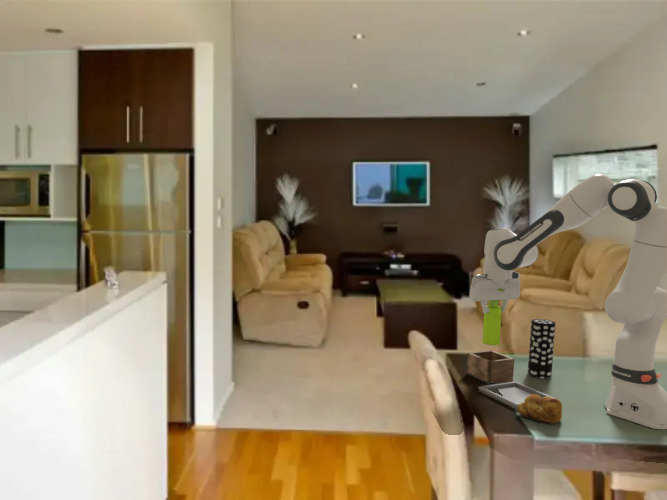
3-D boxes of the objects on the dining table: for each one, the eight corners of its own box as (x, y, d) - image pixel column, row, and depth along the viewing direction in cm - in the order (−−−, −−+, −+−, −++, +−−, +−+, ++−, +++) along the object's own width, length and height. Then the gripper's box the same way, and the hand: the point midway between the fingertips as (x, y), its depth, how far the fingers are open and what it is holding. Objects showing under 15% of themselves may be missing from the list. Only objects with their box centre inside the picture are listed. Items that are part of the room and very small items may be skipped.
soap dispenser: (495, 346, 215) (498, 289, 213) (479, 342, 220) (482, 287, 219) (505, 344, 219) (508, 288, 217) (489, 340, 224) (492, 285, 222)
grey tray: (555, 403, 196) (555, 398, 196) (516, 410, 189) (516, 404, 189) (515, 386, 212) (515, 381, 212) (478, 391, 205) (478, 386, 205)
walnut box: (512, 381, 218) (514, 358, 217) (488, 384, 213) (489, 361, 212) (490, 371, 229) (491, 350, 228) (466, 374, 224) (467, 352, 223)
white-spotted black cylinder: (548, 372, 230) (552, 319, 228) (553, 379, 222) (558, 324, 220) (525, 371, 231) (529, 318, 229) (530, 377, 223) (534, 323, 221)
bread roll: (513, 417, 183) (514, 391, 182) (523, 408, 191) (525, 383, 190) (557, 428, 176) (559, 401, 175) (566, 419, 184) (568, 393, 183)
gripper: (478, 275, 210) (476, 316, 211) (524, 273, 219) (521, 312, 220) (466, 273, 215) (464, 312, 217) (511, 271, 224) (509, 309, 226)
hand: (493, 312), depth 219 cm, fingers closed on soap dispenser, 6 cm apart
